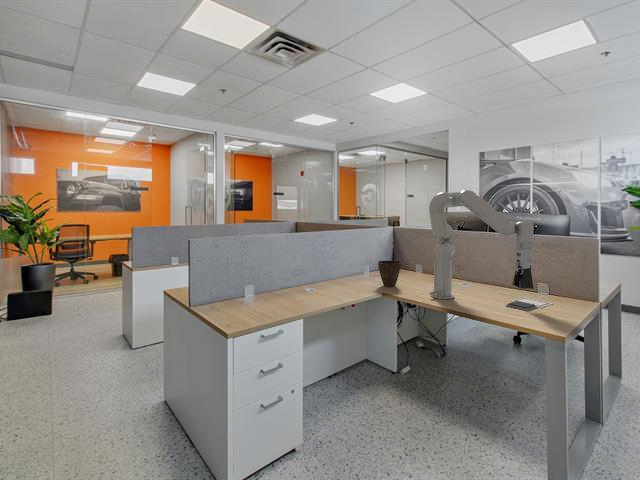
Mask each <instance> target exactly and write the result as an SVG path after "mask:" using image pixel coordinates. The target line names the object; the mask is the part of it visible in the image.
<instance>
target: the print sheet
mask: <svg viewBox="0 0 640 480" xmlns="http://www.w3.org/2000/svg"><path fill="white" fill-rule="evenodd" d="M515 301H521V302H525V303H530V304H535V305H536V306H537V309H538V308H539V309H543V308H545V307H548V306H551V305H553V303H552V302H548V301H542V300H537V299H533V298H532V299H531V298H527V297H519V298H517V299H512V300H510V303H511V302H515Z"/></svg>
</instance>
